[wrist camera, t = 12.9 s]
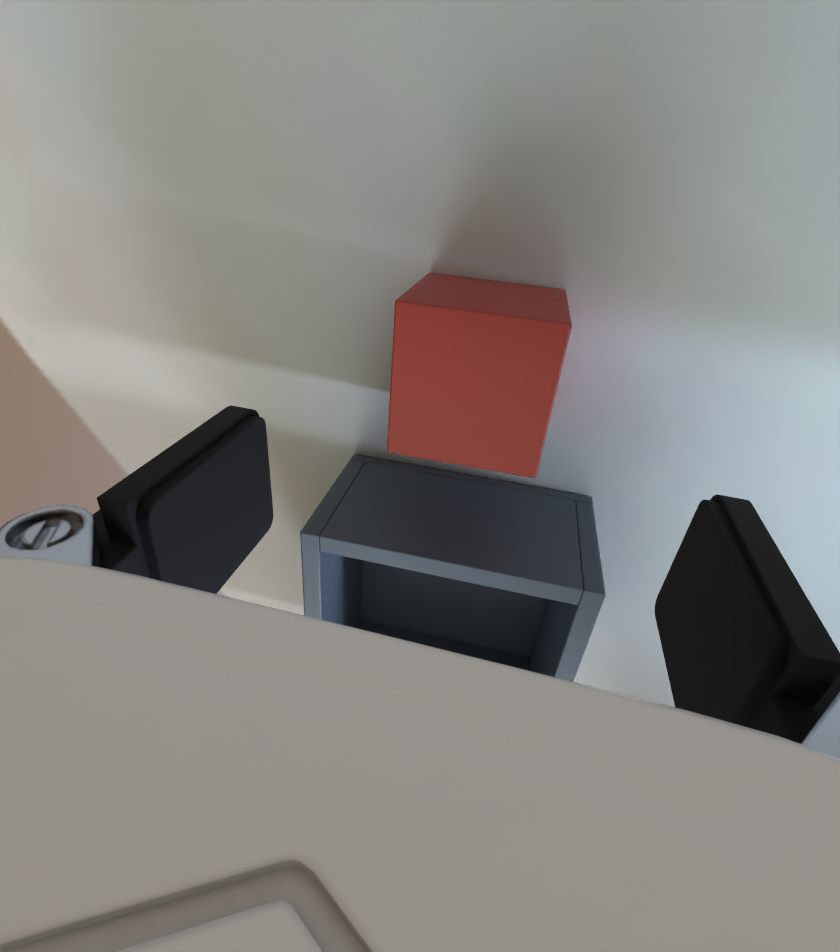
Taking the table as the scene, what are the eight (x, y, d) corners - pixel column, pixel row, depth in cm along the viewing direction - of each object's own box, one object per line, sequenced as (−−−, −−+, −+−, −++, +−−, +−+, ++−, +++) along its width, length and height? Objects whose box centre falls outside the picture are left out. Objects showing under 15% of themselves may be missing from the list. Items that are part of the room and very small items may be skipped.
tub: (592, 496, 24) (606, 594, 18) (540, 661, 30) (539, 772, 24) (353, 453, 25) (299, 531, 20) (351, 618, 31) (308, 713, 26)
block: (566, 289, 20) (572, 323, 15) (537, 417, 22) (535, 479, 18) (428, 272, 20) (395, 300, 16) (418, 398, 23) (386, 452, 19)
